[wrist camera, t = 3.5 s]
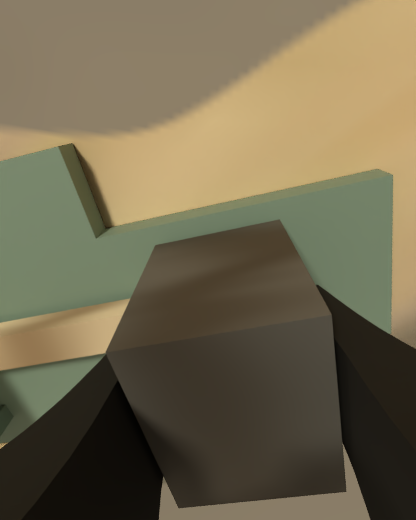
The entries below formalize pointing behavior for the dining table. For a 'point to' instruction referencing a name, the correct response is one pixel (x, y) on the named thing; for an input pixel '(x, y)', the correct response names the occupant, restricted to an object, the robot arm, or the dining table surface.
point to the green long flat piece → (158, 232)
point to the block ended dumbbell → (215, 365)
